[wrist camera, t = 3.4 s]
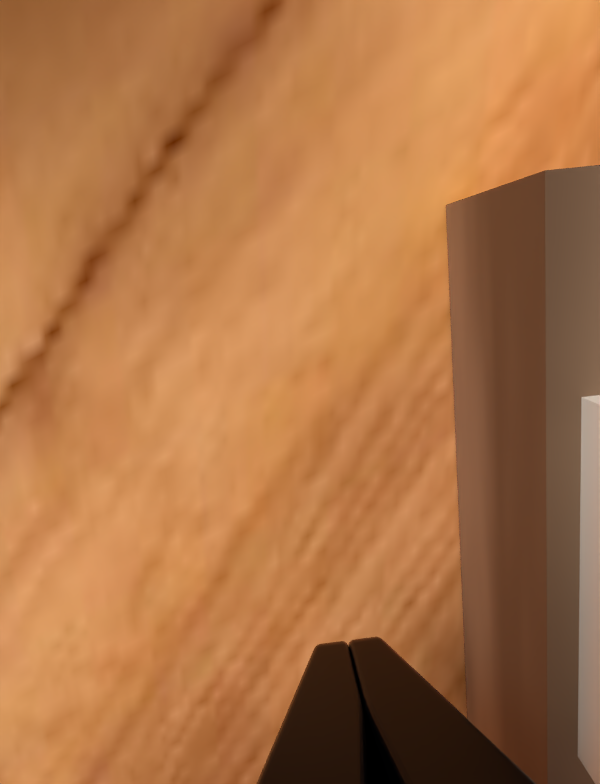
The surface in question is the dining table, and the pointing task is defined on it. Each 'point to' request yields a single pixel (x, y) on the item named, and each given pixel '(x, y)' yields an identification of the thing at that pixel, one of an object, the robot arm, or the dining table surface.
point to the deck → (524, 453)
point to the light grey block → (589, 590)
